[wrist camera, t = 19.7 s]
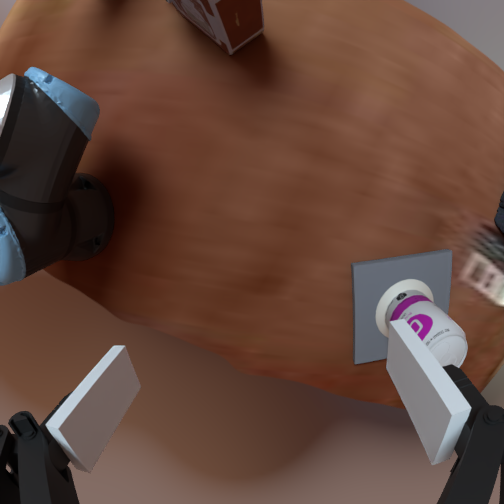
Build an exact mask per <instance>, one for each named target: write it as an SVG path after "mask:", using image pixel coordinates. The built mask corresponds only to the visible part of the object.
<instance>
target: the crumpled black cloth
mask: <svg viewBox="0 0 504 504" xmlns="http://www.w3.org/2000/svg"><path fill="white" fill-rule="evenodd" d="M499 205H500V207H499V208H498V210H497V212H498V213H497V214H496V217H495V223H496V225H497V226H498V227H499V228H500V229H501V231H502V232H503V233H504V192H503V194H502V196H501V199H500V204H499Z"/></svg>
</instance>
